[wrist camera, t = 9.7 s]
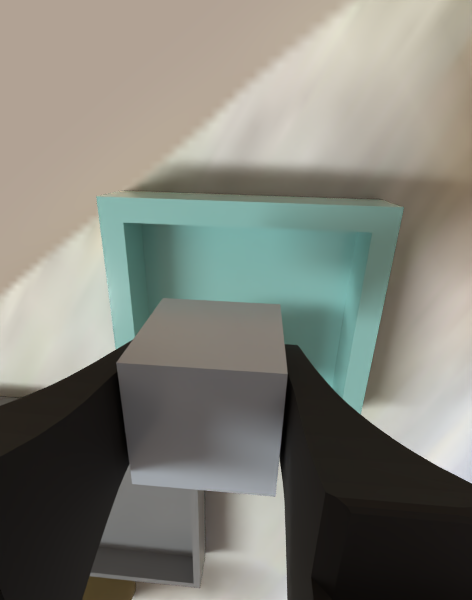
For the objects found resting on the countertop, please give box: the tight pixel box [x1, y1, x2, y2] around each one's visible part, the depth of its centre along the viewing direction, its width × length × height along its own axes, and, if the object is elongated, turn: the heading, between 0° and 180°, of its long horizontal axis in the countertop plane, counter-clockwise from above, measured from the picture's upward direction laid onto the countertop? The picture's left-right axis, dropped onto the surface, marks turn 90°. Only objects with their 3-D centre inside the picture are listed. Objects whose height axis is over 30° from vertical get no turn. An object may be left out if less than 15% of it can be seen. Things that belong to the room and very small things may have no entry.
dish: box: [96, 191, 404, 414], centre depth 19 cm, size 13×13×3 cm
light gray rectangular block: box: [116, 298, 288, 497], centre depth 10 cm, size 4×4×4 cm
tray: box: [0, 397, 205, 588], centre depth 25 cm, size 17×15×2 cm
